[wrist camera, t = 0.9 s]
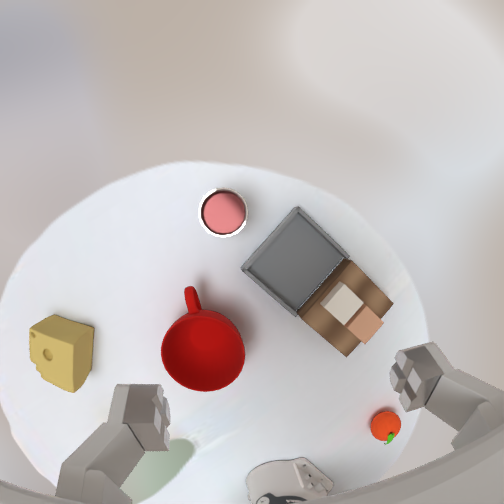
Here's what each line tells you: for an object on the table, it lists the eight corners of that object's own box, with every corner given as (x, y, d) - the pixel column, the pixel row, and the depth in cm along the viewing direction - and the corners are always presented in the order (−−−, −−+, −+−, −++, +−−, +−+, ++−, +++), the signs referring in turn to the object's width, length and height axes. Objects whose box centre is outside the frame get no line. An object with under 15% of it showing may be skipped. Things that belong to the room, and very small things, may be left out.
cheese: (51, 356, 55) (28, 375, 45) (53, 310, 54) (27, 324, 44) (93, 372, 56) (74, 395, 46) (97, 325, 55) (75, 343, 45)
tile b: (378, 318, 54) (383, 322, 51) (359, 339, 54) (365, 344, 52) (361, 302, 53) (366, 305, 51) (342, 323, 54) (347, 328, 51)
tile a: (358, 299, 53) (363, 302, 51) (339, 320, 53) (344, 325, 51) (339, 281, 53) (344, 284, 50) (319, 303, 53) (323, 307, 50)
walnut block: (384, 298, 58) (393, 303, 54) (339, 349, 58) (346, 357, 54) (344, 258, 57) (351, 260, 53) (296, 312, 57) (301, 318, 53)
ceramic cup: (230, 271, 55) (230, 282, 46) (248, 359, 57) (252, 384, 47) (158, 285, 55) (144, 298, 45) (181, 370, 57) (173, 396, 47)
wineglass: (211, 239, 55) (206, 243, 43) (200, 201, 54) (191, 195, 42) (249, 227, 55) (254, 229, 43) (238, 189, 54) (240, 180, 42)
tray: (343, 254, 56) (349, 256, 54) (292, 312, 57) (295, 317, 54) (294, 207, 55) (298, 206, 52) (240, 267, 55) (241, 270, 52)
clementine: (389, 429, 62) (402, 446, 54) (363, 436, 61) (374, 453, 54) (395, 403, 61) (409, 418, 54) (368, 409, 60) (380, 426, 53)
